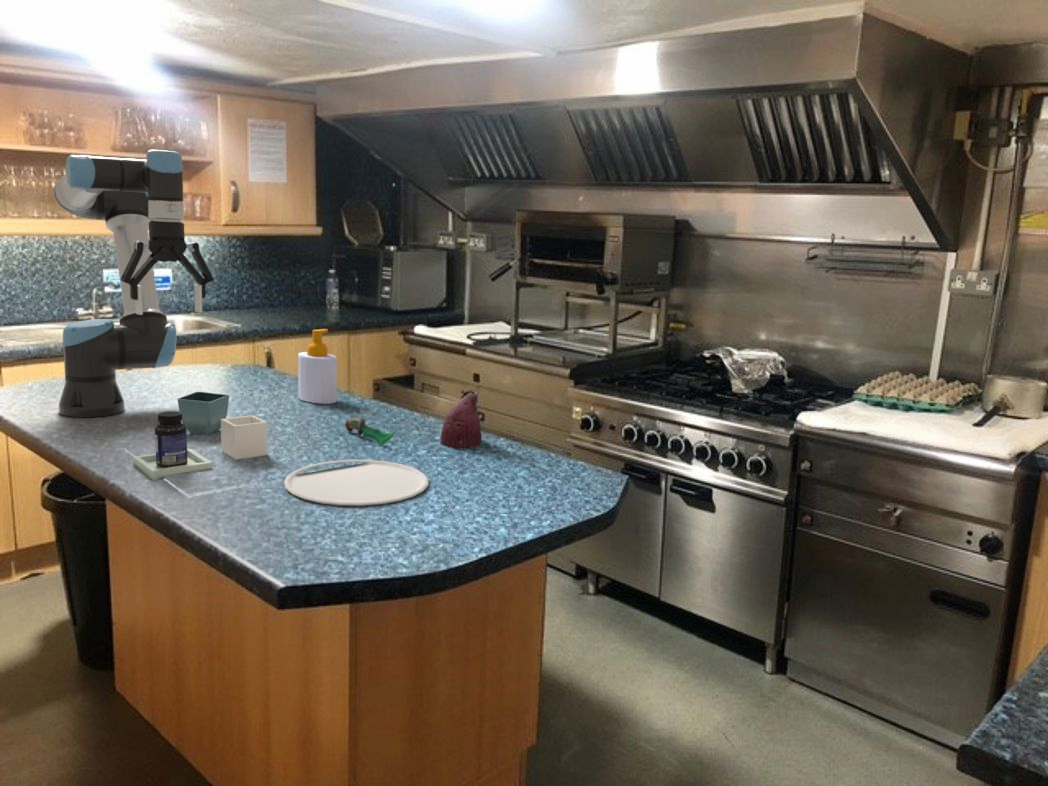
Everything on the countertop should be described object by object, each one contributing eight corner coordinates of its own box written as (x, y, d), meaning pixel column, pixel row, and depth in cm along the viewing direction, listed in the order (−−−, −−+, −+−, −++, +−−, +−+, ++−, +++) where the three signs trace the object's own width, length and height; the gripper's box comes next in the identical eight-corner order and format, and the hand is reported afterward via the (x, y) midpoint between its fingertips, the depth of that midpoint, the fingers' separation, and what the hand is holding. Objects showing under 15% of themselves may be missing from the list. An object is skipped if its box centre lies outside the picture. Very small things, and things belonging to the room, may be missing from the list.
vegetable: (485, 454, 214) (504, 398, 211) (465, 458, 204) (485, 400, 201) (450, 437, 218) (469, 382, 215) (429, 441, 208) (449, 383, 205)
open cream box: (221, 453, 191) (220, 419, 190) (253, 449, 196) (252, 415, 194) (235, 462, 186) (234, 426, 184) (267, 457, 191) (267, 422, 189)
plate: (361, 520, 157) (361, 514, 156) (252, 487, 172) (252, 481, 171) (457, 483, 181) (457, 477, 181) (354, 456, 196) (354, 451, 196)
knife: (343, 431, 216) (343, 412, 214) (349, 430, 217) (349, 411, 216) (391, 452, 200) (392, 431, 199) (398, 450, 202) (398, 430, 201)
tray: (133, 464, 180) (133, 456, 180) (190, 456, 188) (190, 448, 188) (152, 480, 172) (152, 471, 171) (212, 470, 179) (212, 462, 179)
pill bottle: (193, 463, 182) (192, 412, 179) (173, 470, 176) (171, 418, 174) (170, 459, 184) (168, 408, 181) (149, 466, 178) (147, 414, 176)
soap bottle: (344, 401, 248) (344, 331, 244) (323, 406, 241) (323, 334, 237) (311, 394, 255) (311, 326, 250) (290, 398, 248) (290, 328, 244)
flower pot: (211, 438, 203) (210, 401, 201) (177, 435, 204) (176, 398, 203) (230, 430, 211) (230, 394, 209) (198, 426, 213) (197, 391, 211)
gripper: (113, 219, 186) (117, 317, 190) (226, 222, 202) (228, 312, 206) (103, 217, 191) (107, 312, 195) (213, 221, 207) (215, 309, 212)
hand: (169, 313), depth 201 cm, fingers open, 13 cm apart
